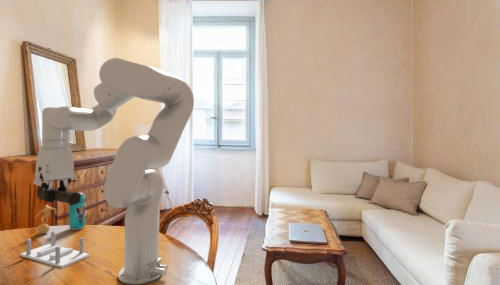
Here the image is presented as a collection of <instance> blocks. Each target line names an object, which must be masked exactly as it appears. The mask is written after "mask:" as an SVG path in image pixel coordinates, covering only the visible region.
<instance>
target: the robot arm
mask: <svg viewBox="0 0 500 285" xmlns="http://www.w3.org/2000/svg"><path fill="white" fill-rule="evenodd" d="M98 78H99V79H100V83H99V84H97V85H96V86H95V87H94V89H93V96H94V98H95V101H96V102H97V103H98V104H96V105H95V106H93V107H92V108H86V107H78V106H75V107H74V106H64V105H63V106H58V107H51V106H50V107H44V108H43V110H42V111H41V112H42V115H41V117H42V118H41V121H42V122H41V124H42V125H41V128H42V129H41V140H42V141H41V149H39V150H38V153H37V156H36V157H37V158H36V163H35V173H34V174H35V178H34V180H33V181H32V183H33V184H34V185H36V186H38V187H39V186H41V187H42V188H43V190H45V200H44V201H45V202H46V203H51V204H53V203H54V202H55V200H54V190H55V189H54V188H53V186H54V181H58V185H59V187H57V190H59V191H67V188H68V187H69V185H70V184H71V183H72V181H74V180H75V179H76V178H77V174H76V173H75V164H74V154H73V150H72V149H71V146H73V142H72V141H71V131H73V132H77V131H83V132H84V131H86V132H87V131H88V132H90V131H96V130H98V129H100V128H102V127H103V126H105V125H107V124H109V123H110V122H111V121H112V120H113V119H114V118H115V115H116V114H117V110H118V109H119V108H120V107H121V106H124V104H126V103H128V102H129V101H131V100H132V99H134V98H137V99H141V100H145V101H150V102H156V103H159V104H160V103H162V104H164V106H163V107H162V109H161V110H160V111H159V112H158V114H156V116H155V118H154V120H153V121H152V125H151V127H150V129H149V130H148V132H147V134H146V135H134V136H130V137H128V138H127V139H125V140H124V141H123V142H122V143H121V144H120V146H119V147H118V150H117V151H116V152H115V157H114V159H113V160H112V164H111V165H110V169H109V171H108V173H107V176H106V179H105V181H104V183H103V184H104V185H103V195H104V199H105V202H106V203H107V204H108V205H109V206H111V207H113V208H117V209H123V208H126V209H125V210H126V211H125V214H124V215H125V216H124V258H123V259H124V261H123V262H124V263H123V264H124V266H123V267H122V268H120V269H119V271H118V273H117V274H118V275H117V278H118V280H119V281H120V282H121V283H123V284H126V285H142V284H147V283H151V282H153V281H155V280H157V279H158V278H160V277H164V276H167V275H166V274H167V270H168V269H169V266H168V265H167V264H163V263H162V257H159V255H160V254H159V252H160V250H159V249H160V247H159V245H160V244H159V243H160V212H161V200H162V196H163V193H164V192H163V191H164V180H163V177H162V175H161V174H160V172H159V171H158V170H157V169H161V168H164V167H166V166H167V165H168V164H169V163H170V161H171V159H172V157H173V155H174V153H175V150H176V148H177V146H178V144H179V141H180V139H181V137H182V134H183V132H184V129H185V127H186V126H187V124H188V121H189V119H190V118H191V115H192V113H193V110H194V105H195V99H194V98H195V97H194V93H193V90H192V89H191V87H190V86H189V84H188V83H187V82H186V81H185V80H184V79H182V78H180V77H179V76H176V75H174V74H172V73H169V72H166V71H163V70H161V69H159V68H155V67H152V66H149V65H146V64H145V65H144V64H141V63H137V62H133V61H130V60H127V59H126V60H125V59H123V58H119V57H113V58H110V59H107V60H106V61H104V63H103V64H102V65H101V66H100V69H99V77H98ZM52 189H54V190H52Z"/></svg>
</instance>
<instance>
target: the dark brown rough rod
mask: <svg viewBox="0 0 500 285" xmlns="http://www.w3.org/2000/svg"><path fill="white" fill-rule="evenodd" d="M52 190H54V201H57V202H60V203H61V202H62V203H66V204H70V205H75V204H77V203H79V202H80V197H81V194H80V193H78V191H75V192H71V191H67V190H66V191H59V190H58V189H54V188H52ZM36 196H37V199H39V200H43V201H46V200H45V190H43V188H42V187H41V186H39V185H38V186H37V189H36Z"/></svg>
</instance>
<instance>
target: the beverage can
mask: <svg viewBox="0 0 500 285" xmlns="http://www.w3.org/2000/svg"><path fill="white" fill-rule="evenodd" d="M77 192H78V191H77ZM78 193H80V194H81V197H80V202H79V203H77V204H75V205H70V204H69V203H68V204H69V206H68V209H69V210H68V211H69V212H68V215H69V216H68V217H69V218H68V219H69V220H68V224H69V225H68V226H69V228H70V230H71V231H79V230H82V229H83V228H84V227H85V224H86V195H85V192H83V191H81V192H78Z"/></svg>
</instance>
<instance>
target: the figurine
mask: <svg viewBox="0 0 500 285" xmlns="http://www.w3.org/2000/svg"><path fill="white" fill-rule="evenodd" d="M52 210H53V211H54V214H55V215H57V212H58V211H57V209H56V208H55V207H52V206H49V205H48V204H45V206H44V209H42V210H40V211H39V212H38V213H37V214H36V215H35V217H34V219H33V220H35V219H36V218H37V217H38V216H39V215H40V214H41V213H44V214H42V216H41V218H40V220H41V222H42V223H41V224H39V225H38V226H37V227H36V228H37V229H36V230H37V233H38V234H40V235H44V234H45V235H46V234H47V233H48V232H49V231H50V225H49V224H48V223H49V217H50V215H51V211H52ZM44 219H45V220H44ZM45 221H46V222H45Z"/></svg>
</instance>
